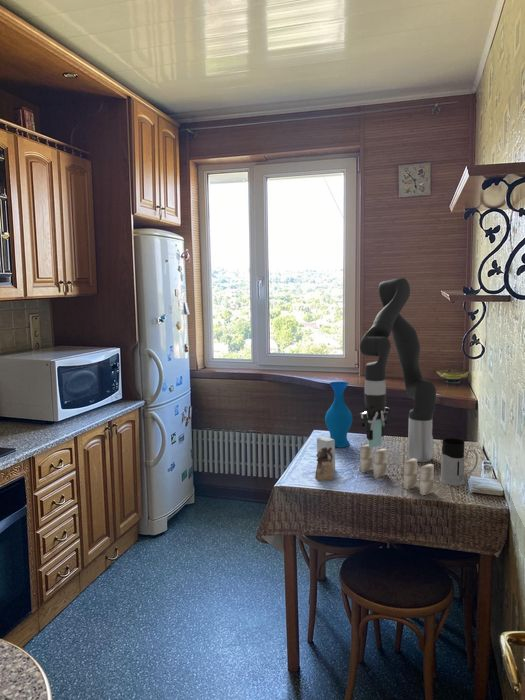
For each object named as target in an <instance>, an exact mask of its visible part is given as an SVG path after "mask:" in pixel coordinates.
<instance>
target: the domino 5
mask: <svg viewBox="0 0 525 700" xmlns="http://www.w3.org/2000/svg"><path fill="white" fill-rule="evenodd" d="M434 468H435V465H434V464H432V463H428V464H425V465H422V466H420V481H419V482H420V483H419V495H420V494H422V495H426V494H428V493H431V492H434V474H435V473H434V471H435V469H434ZM431 494H432V493H431ZM422 495H421V496H422ZM428 495H429V494H428ZM426 496H427V495H426Z"/></svg>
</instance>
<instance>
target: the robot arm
mask: <svg viewBox="0 0 525 700" xmlns="http://www.w3.org/2000/svg"><path fill="white" fill-rule="evenodd" d="M378 284H379V285H378V295H379V298H380V301H381V304H382V306H383V308H382V309H381V310H380V311H379V312H378V313H377V315H376V316H375V318H374V320H373V323H372V326H371V327H370V328H369V329H368V331H367V332H365V334H364V335H363V336H362V337H361V340H360V341H359V351H360V353H361V354H362V355H363V356H367V357H368V356H369V357H378V359H377V361H372V362H367V363H366V364H365V367H364V372H365V373H364V405H365V408H366V409H365V411H364V412H359V420H360V425H361V428H362V429H364V430H365V431H366V438H367V440H368V441H369V440H373V430H372V429H373V425H374V424H375V422H376V420H377V419H378V420H379V419H380V418H381V424H382V438H383V437H384V435H385V426H386V425H388V424H389V421H390V414H391V407H387V383H386V367H387V361H388V357H389V354H390V352H391V348H392V345H391V343H392V342H391V341H390V339H389V337H390V336H391V334H392V338H393V342H394V346H395V350H396V352H397V356H398V359H399V363H400V366H401V371H402V373H403V379H404V380H403V381H404V386H405V391H406V394H407V396H408V397H409V398H410V399H412V400H413V401H414V404H413V409H410V410H409V412H408V435H407V436H408V438H407V460H409V459H413V458H414V459H417V463H427V462H428V463H429V462H431V461H432V459H433V451H434V450H433V449H434V448H433V446H434V436H433V416H434V414H435V412H436V411H435V410H436V402H437V401H436V400H437V389H436V385H435V384H434V383H433V382H432V381H430V380H428V379H425V378H423V375H422V372H421V369H420V363H419V362H420V355H421V345H420V341H419V337H418V333H417V331H416V330H415V328H414V326H412V324H411V323H409V322H408V321H407V319H405V318H404V317H403V316H402V315H401V314H400V313H401V312H402V310H403V308H404V307H405V305H406V303H407V302H408V300H409V299H410V295H411V286H410V283H409V281H408V280H407V279H406V278H405V277H397V278H393V279H389V280H388V279H387V280H384V281H381V282H380V283H378ZM369 419H370V420H372V421H369ZM369 423H370V426H369Z"/></svg>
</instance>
